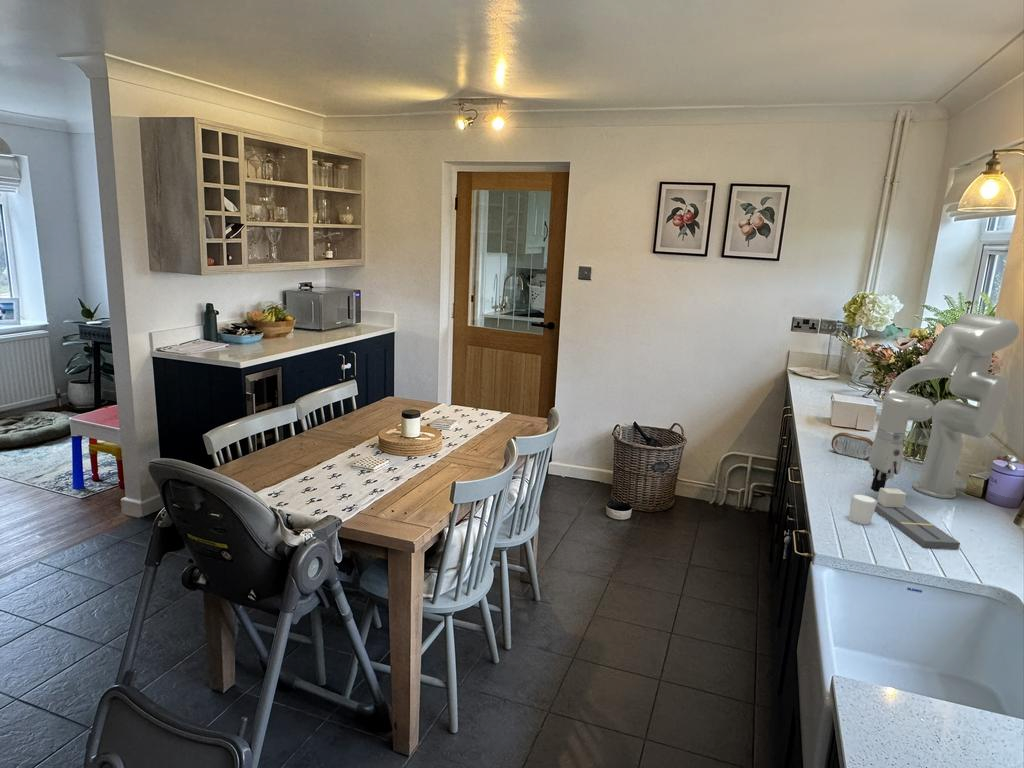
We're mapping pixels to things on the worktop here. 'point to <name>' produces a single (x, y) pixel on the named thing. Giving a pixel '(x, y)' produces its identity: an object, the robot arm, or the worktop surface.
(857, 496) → the white cylinder
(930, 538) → the fader track
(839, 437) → the tin
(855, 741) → the worktop surface
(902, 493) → the fader knob
